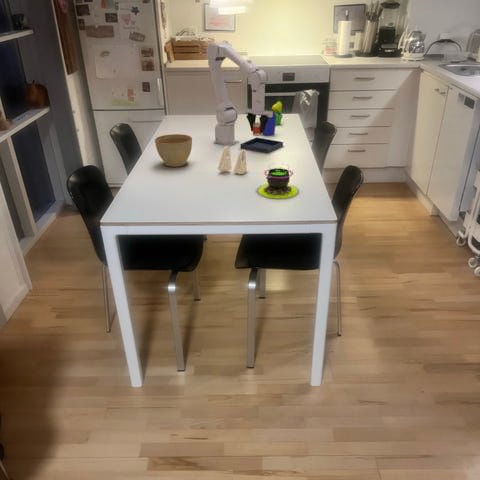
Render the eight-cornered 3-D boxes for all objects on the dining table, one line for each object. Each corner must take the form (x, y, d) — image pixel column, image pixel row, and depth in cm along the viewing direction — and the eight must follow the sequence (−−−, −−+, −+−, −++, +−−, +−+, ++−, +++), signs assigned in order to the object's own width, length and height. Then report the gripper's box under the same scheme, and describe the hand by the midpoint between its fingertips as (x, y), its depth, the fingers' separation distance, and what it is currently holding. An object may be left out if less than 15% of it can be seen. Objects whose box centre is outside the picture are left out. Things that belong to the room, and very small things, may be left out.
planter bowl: (198, 159, 216) (197, 135, 209) (185, 171, 203) (184, 145, 197) (165, 157, 219) (163, 132, 213) (151, 168, 206) (148, 142, 200)
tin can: (250, 135, 223) (250, 123, 220) (256, 132, 226) (256, 121, 223) (259, 136, 221) (259, 125, 218) (264, 134, 224) (264, 123, 221)
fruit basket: (263, 121, 273) (263, 100, 267) (277, 120, 275) (278, 99, 269) (270, 126, 264) (270, 104, 258) (284, 125, 266) (285, 103, 260)
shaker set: (217, 173, 200) (216, 146, 193) (219, 170, 203) (218, 144, 197) (245, 175, 198) (245, 148, 192) (246, 171, 202) (247, 145, 195)
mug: (276, 130, 256) (277, 111, 250) (275, 136, 246) (276, 116, 241) (261, 130, 257) (261, 110, 251) (259, 136, 247) (260, 116, 241)
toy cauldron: (273, 181, 192) (274, 154, 185) (304, 190, 184) (307, 161, 177) (250, 192, 182) (250, 163, 176) (282, 201, 175) (283, 171, 168)
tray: (240, 148, 229) (240, 144, 228) (256, 142, 239) (256, 137, 237) (267, 154, 222) (267, 149, 221) (282, 146, 232) (283, 141, 230)
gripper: (276, 100, 214) (275, 131, 222) (249, 97, 221) (249, 127, 229) (268, 103, 210) (267, 135, 218) (241, 99, 216) (241, 130, 224)
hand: (257, 131), depth 223 cm, fingers closed on tin can, 5 cm apart
